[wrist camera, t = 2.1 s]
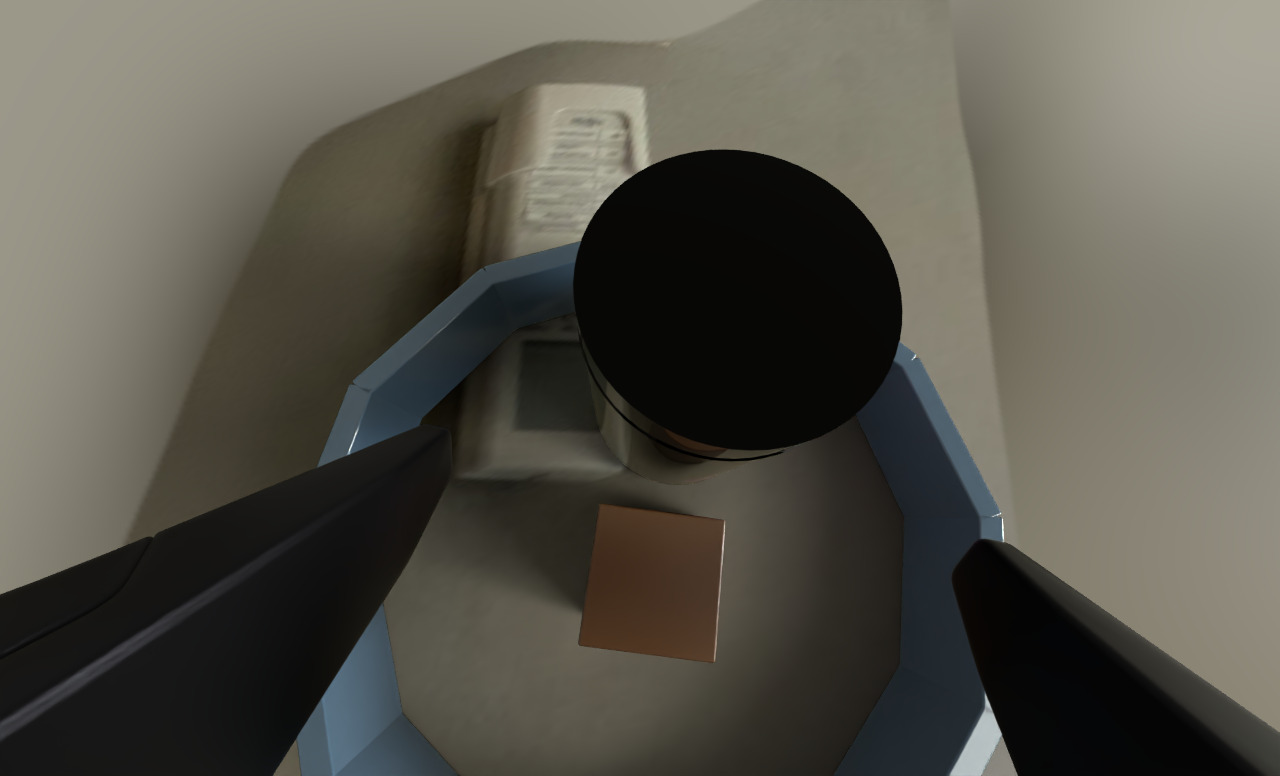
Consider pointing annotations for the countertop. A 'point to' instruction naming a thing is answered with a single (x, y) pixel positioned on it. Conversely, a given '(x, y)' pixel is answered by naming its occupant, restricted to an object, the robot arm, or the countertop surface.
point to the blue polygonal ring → (900, 439)
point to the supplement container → (730, 313)
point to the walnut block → (654, 583)
